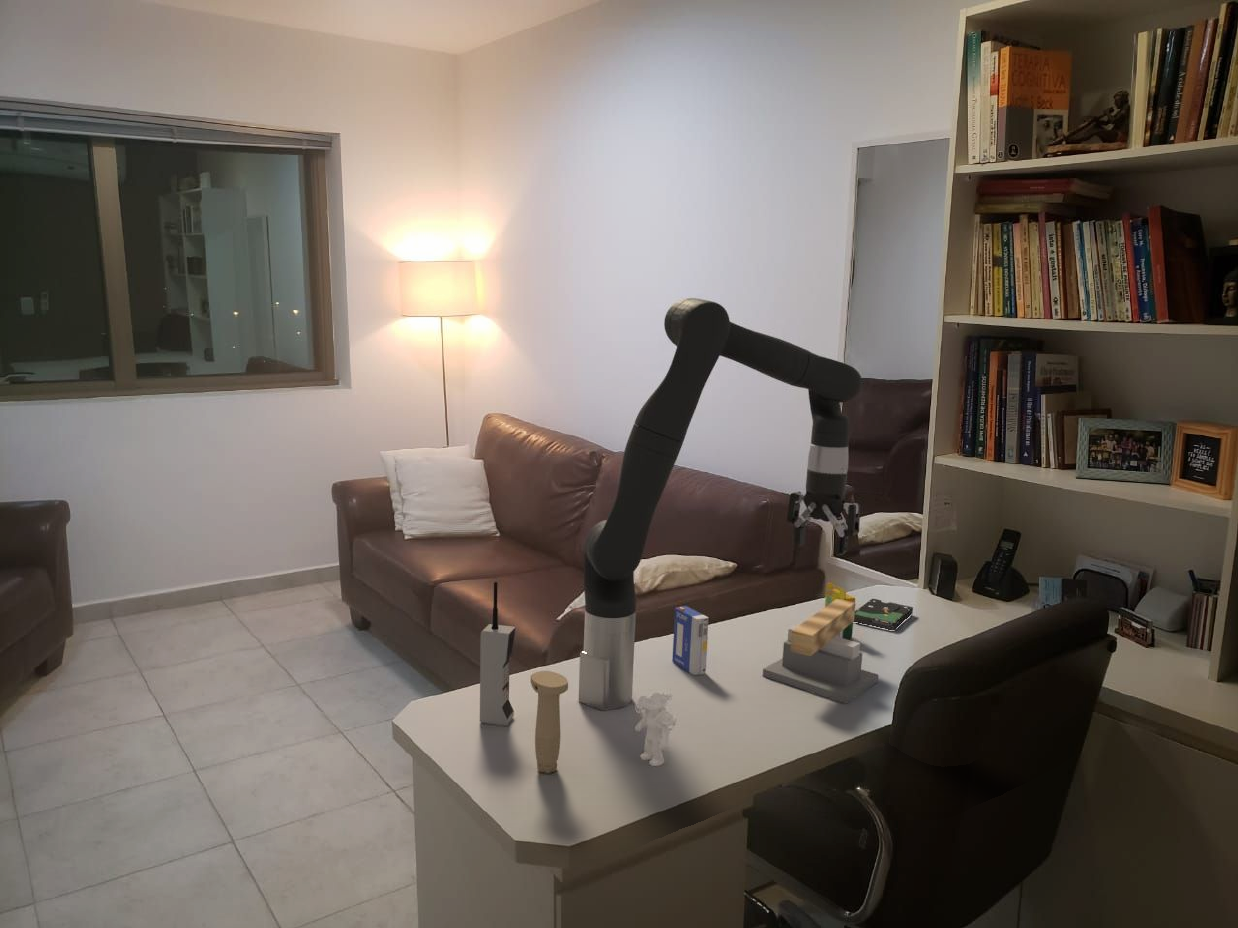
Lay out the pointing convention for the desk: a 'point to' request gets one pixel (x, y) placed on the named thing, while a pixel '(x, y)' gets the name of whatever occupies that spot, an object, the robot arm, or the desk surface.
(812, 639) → the oak bar
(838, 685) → the balance stand
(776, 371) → the robot arm
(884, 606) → the disk drive
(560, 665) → the desk surface
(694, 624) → the walkman
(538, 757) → the handle
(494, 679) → the vintage mobile phone
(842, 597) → the crayon box
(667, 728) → the white figurine
